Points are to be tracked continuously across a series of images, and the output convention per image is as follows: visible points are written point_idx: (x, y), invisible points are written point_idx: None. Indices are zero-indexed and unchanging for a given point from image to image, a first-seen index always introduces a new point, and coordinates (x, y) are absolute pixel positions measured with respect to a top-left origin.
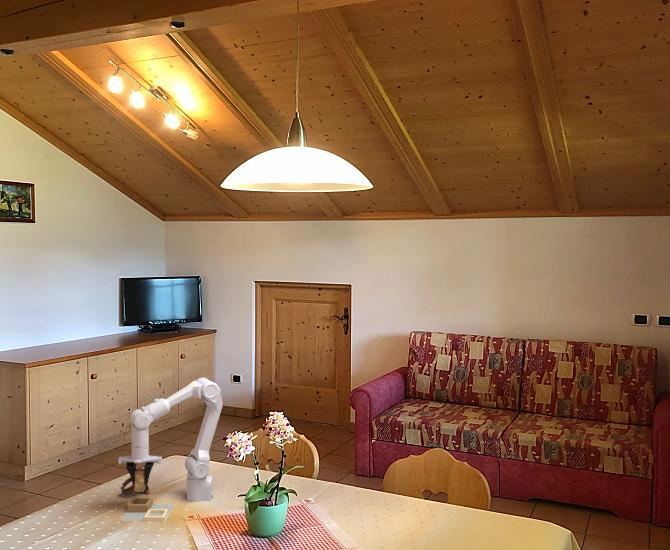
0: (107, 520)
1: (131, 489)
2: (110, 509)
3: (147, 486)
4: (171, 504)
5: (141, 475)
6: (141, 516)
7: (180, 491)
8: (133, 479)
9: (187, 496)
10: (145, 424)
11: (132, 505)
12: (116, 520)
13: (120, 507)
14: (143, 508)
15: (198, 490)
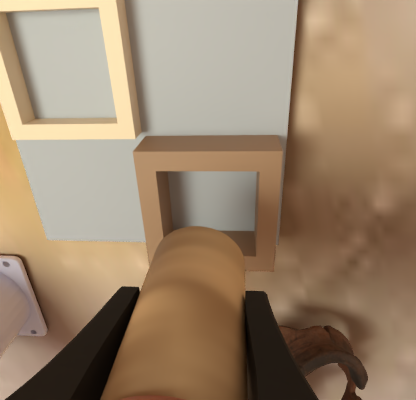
0: (400, 47)
1: (300, 352)
2: (392, 212)
3: None
4: (60, 238)
5: (130, 366)
6: (167, 71)
7: None
8: (254, 330)
9: (1, 297)
10: None
11: (245, 151)
12: (335, 48)
13: (336, 234)
14: (169, 143)
15: None
